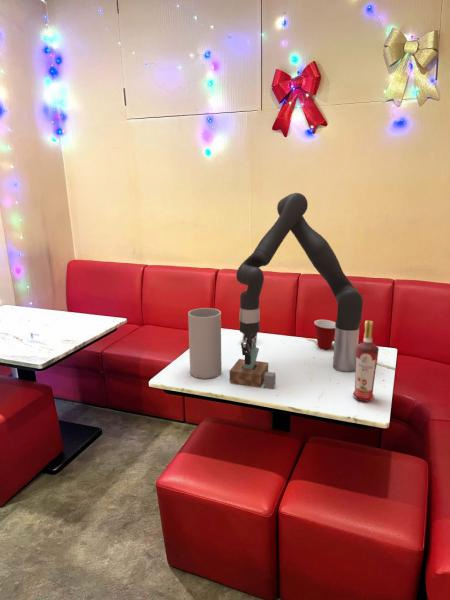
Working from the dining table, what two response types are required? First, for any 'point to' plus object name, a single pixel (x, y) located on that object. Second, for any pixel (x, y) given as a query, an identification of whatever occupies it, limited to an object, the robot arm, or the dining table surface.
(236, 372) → the socket block
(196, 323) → the cylinder vase
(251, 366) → the long pin
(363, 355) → the liquor
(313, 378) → the dining table surface
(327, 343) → the plastic cup
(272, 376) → the short pin
